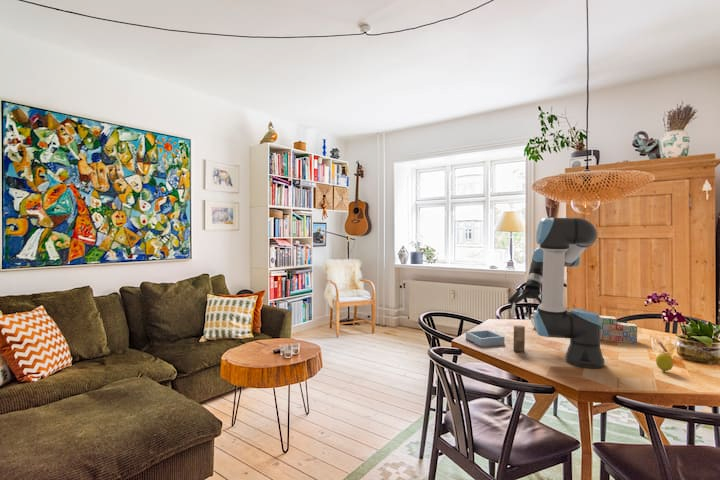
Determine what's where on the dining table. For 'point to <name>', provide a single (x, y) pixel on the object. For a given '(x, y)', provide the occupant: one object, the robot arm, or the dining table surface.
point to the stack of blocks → (617, 330)
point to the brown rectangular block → (519, 339)
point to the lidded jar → (532, 320)
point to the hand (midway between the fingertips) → (525, 316)
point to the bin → (485, 338)
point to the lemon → (664, 362)
